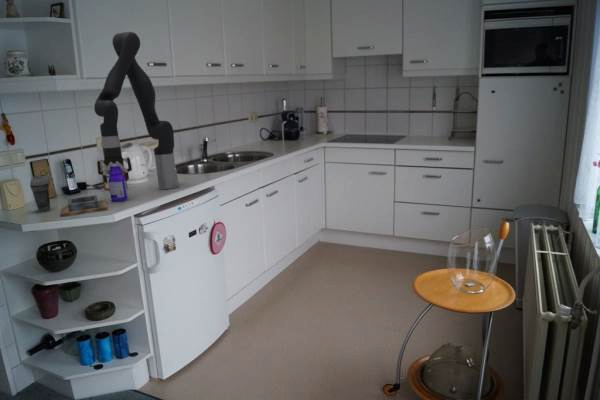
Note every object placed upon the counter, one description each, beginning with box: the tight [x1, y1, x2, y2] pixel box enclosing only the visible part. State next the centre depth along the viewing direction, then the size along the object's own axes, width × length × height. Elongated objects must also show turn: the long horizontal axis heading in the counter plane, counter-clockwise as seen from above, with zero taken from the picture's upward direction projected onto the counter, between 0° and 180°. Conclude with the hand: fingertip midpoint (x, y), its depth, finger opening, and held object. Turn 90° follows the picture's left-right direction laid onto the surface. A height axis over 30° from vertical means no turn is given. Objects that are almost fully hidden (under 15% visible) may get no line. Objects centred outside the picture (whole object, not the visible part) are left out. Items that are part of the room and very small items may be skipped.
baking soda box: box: [99, 158, 128, 192], centre depth 242 cm, size 10×6×16 cm
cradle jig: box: [59, 194, 108, 218], centre depth 206 cm, size 18×16×4 cm
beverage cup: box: [29, 165, 51, 213], centre depth 206 cm, size 7×7×20 cm
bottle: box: [108, 163, 129, 202], centre depth 217 cm, size 7×6×17 cm
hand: (116, 181), depth 217 cm, fingers open, 8 cm apart
